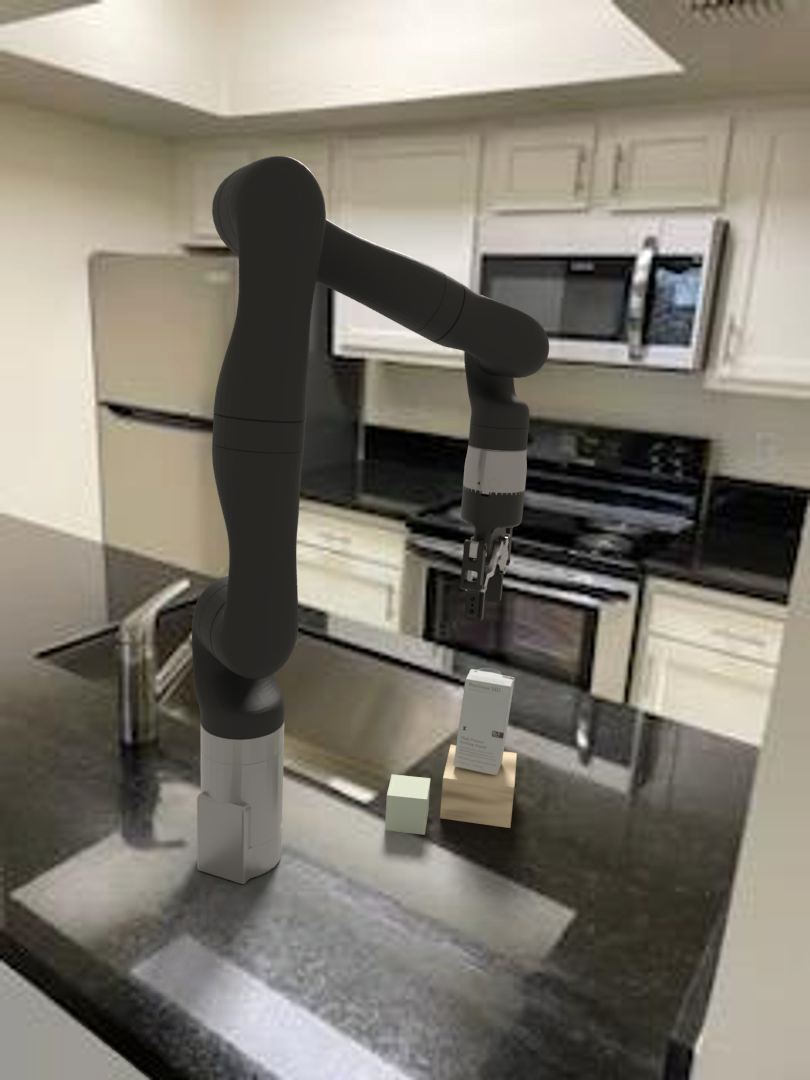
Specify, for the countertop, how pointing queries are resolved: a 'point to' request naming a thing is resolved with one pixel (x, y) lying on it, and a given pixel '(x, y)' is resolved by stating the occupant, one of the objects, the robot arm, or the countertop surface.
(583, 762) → the countertop surface
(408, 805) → the sage block
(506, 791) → the maple block
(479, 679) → the skincare box
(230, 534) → the robot arm
